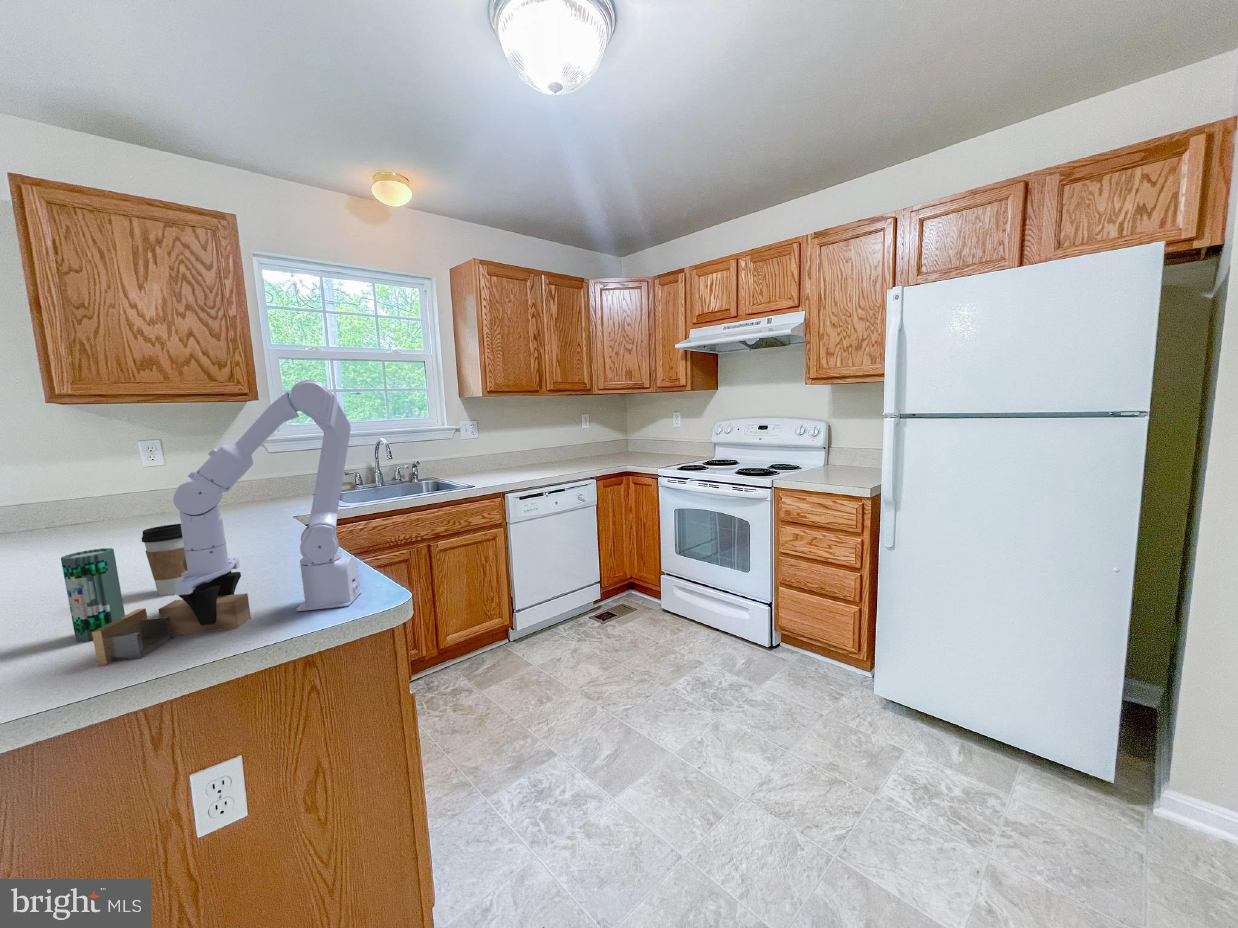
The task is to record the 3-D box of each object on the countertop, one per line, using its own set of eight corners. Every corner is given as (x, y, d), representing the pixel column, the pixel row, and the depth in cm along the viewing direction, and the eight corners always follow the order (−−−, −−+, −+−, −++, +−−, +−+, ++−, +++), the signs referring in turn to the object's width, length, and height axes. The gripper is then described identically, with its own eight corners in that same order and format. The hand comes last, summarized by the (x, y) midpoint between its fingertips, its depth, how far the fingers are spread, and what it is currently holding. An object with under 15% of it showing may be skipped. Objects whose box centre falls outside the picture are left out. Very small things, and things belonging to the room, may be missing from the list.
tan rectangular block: (251, 618, 92) (247, 593, 91) (238, 627, 88) (234, 601, 87) (178, 626, 90) (174, 600, 89) (162, 636, 86) (158, 609, 85)
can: (66, 641, 85) (51, 559, 84) (104, 626, 91) (91, 548, 90) (99, 641, 85) (84, 557, 83) (135, 625, 91) (122, 547, 89)
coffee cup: (177, 597, 105) (167, 529, 103) (139, 598, 105) (128, 531, 104) (210, 583, 114) (201, 520, 112) (175, 584, 114) (165, 521, 112)
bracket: (176, 635, 86) (171, 605, 85) (136, 660, 77) (130, 627, 76) (142, 639, 85) (137, 608, 84) (97, 665, 76) (91, 632, 76)
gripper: (206, 538, 94) (216, 605, 95) (149, 560, 80) (161, 639, 81) (247, 534, 95) (256, 601, 97) (197, 556, 81) (209, 634, 82)
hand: (216, 618), depth 89 cm, fingers closed on tan rectangular block, 4 cm apart
